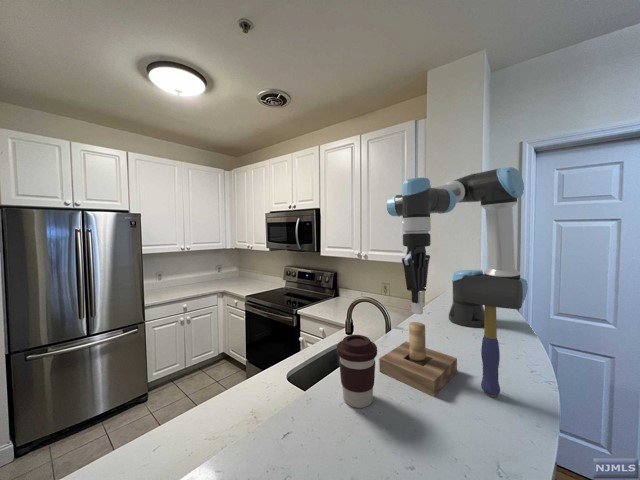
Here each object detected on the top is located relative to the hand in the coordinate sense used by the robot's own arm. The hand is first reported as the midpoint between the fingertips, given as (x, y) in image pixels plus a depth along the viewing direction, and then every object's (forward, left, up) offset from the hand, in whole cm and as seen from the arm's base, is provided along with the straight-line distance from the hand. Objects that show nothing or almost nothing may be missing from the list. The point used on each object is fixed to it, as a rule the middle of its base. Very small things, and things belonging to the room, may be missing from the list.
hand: (417, 312), depth 73 cm
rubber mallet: (-3, +18, -18) cm, 25 cm away
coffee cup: (+22, -5, -18) cm, 29 cm away
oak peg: (0, 0, -18) cm, 18 cm away
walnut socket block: (0, 0, -18) cm, 18 cm away
